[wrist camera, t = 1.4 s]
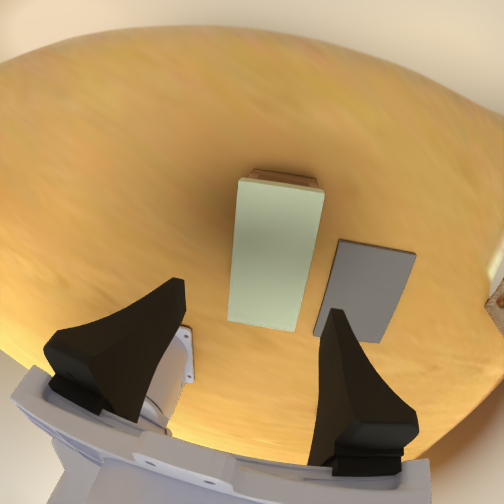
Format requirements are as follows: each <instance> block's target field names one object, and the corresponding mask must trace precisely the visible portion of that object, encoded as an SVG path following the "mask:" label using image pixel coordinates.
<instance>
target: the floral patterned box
mask: <svg viewBox="0 0 504 504" xmlns="http://www.w3.org/2000/svg"><path fill="white" fill-rule="evenodd" d="M485 309H486V310H487V311H488V313H489V315H490V316H491V318H492V320H493V321H494V323H495V324H496V326H497V328H498V329H499V331H500V333H501V334H502V335H503V337H504V278H503V280H502V281H501V283H500V285H499V286H498V288H497V290H496V291H495V292H494V294H493V295H492V296H491V298H490V300H489V301H488V302H487V303H486V305H485Z"/></svg>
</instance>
